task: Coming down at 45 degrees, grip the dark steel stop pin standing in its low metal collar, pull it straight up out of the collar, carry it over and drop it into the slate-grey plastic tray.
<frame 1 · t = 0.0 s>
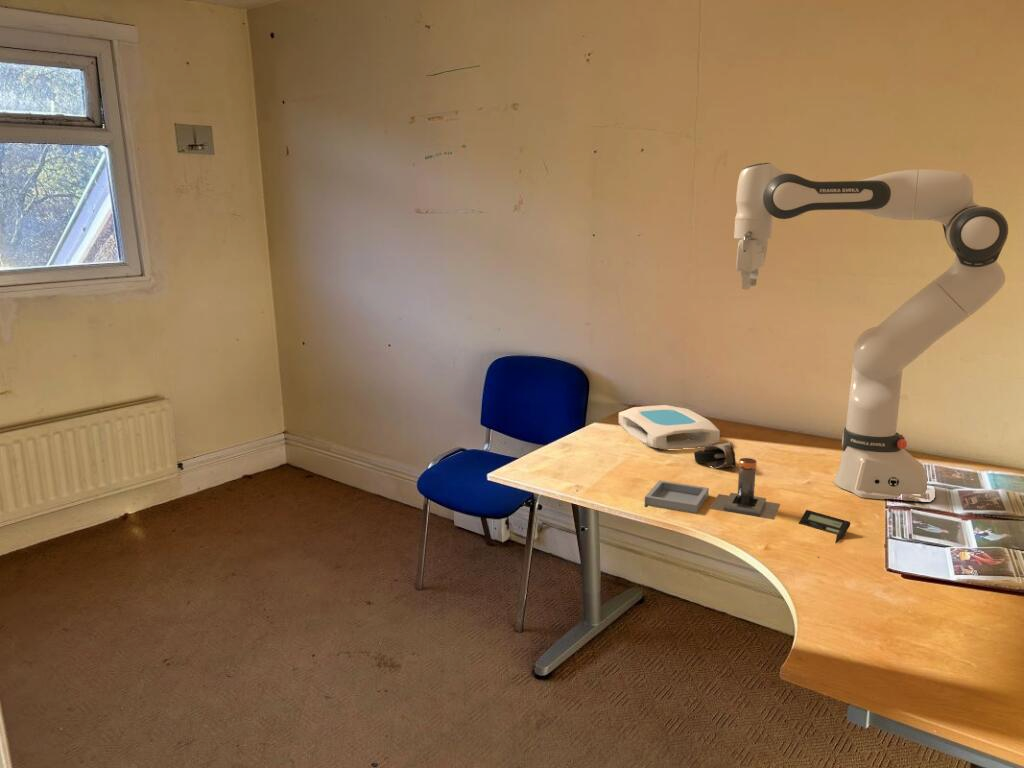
hand: (749, 287, 187), 48 cm above the table, tool pointing down, fingers open, 8 cm apart
stop pin: (744, 506, 170), point 1 cm above the table, touching collar plate
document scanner: (666, 436, 227), on the table
caster wheel: (713, 465, 200), on the table
collar plate: (744, 508, 170), on the table
tray: (676, 502, 174), on the table
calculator: (815, 537, 156), on the table
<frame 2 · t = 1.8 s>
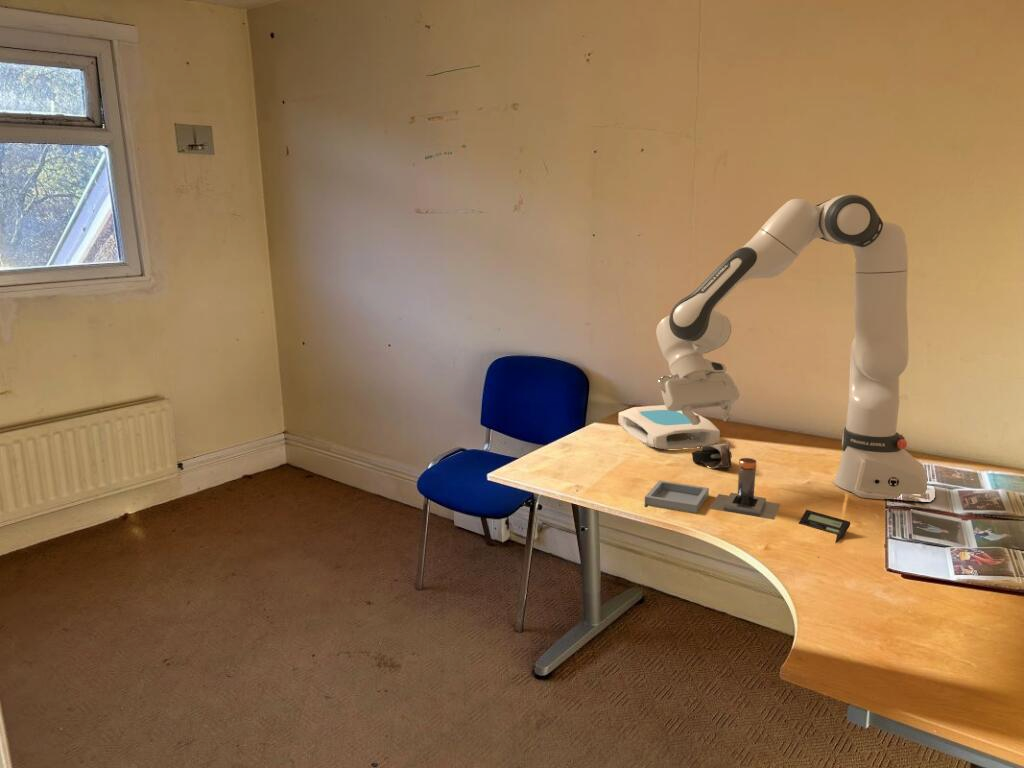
hand: (712, 421, 178), 17 cm above the table, tool tilted 45°, fingers open, 8 cm apart
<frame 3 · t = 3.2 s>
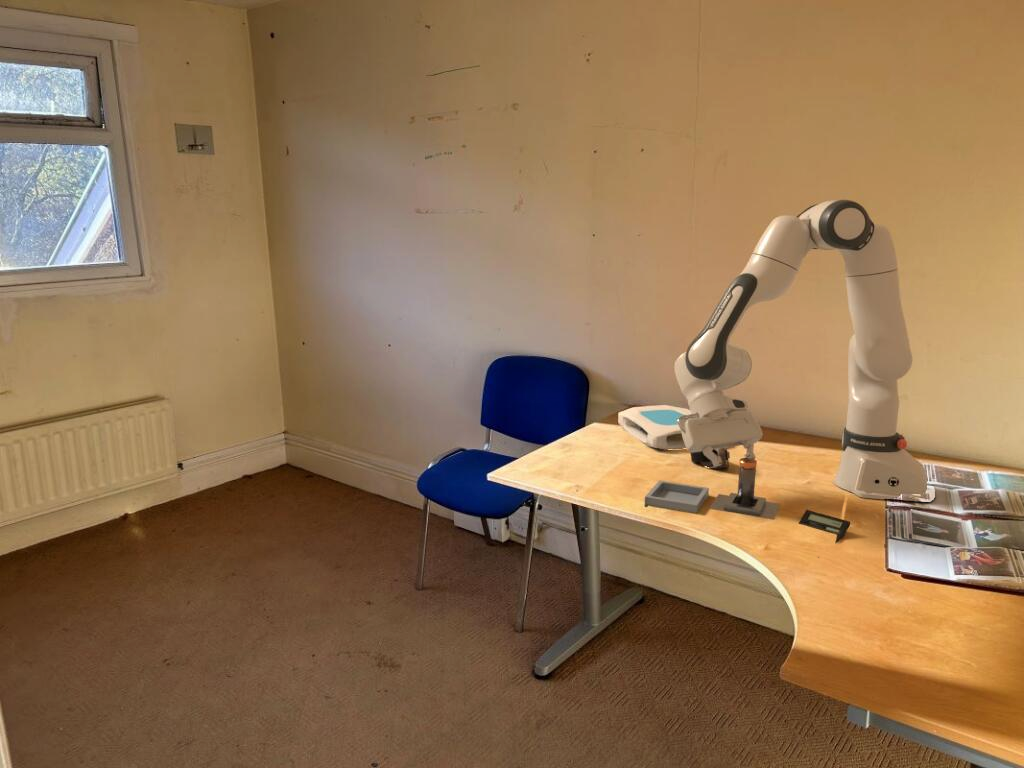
hand: (735, 462, 171), 10 cm above the table, tool tilted 45°, fingers open, 8 cm apart
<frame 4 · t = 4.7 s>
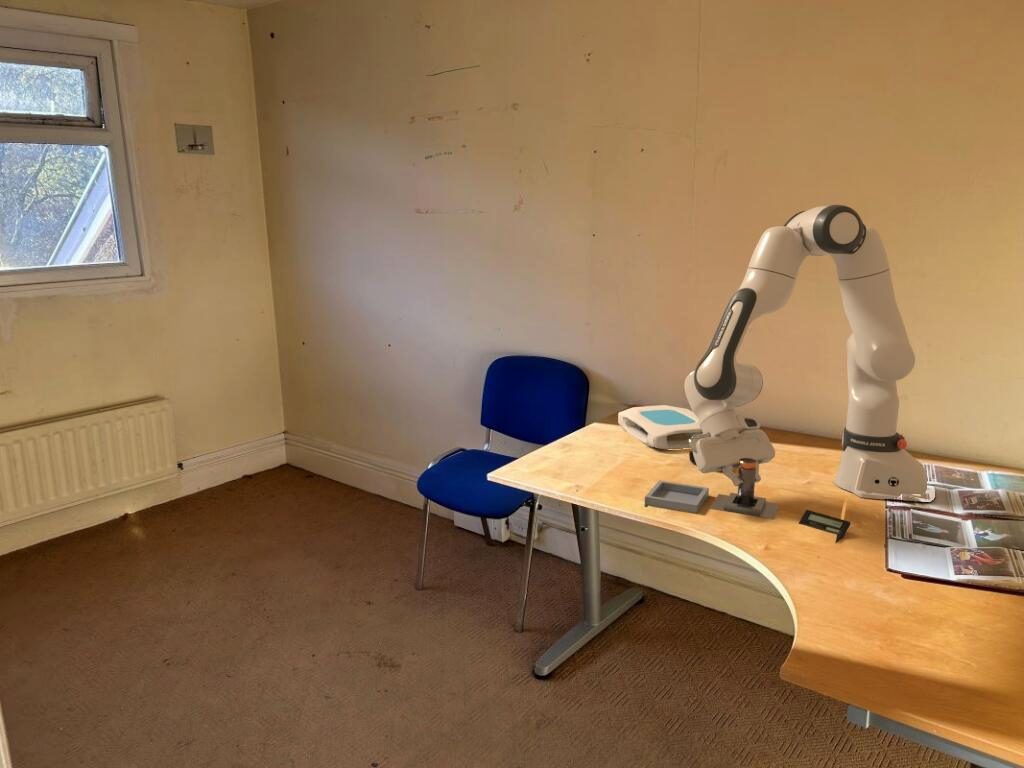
hand: (748, 483, 168), 6 cm above the table, tool tilted 45°, fingers closed on stop pin, 4 cm apart
stop pin: (744, 506, 170), point 1 cm above the table, touching collar plate, gripper
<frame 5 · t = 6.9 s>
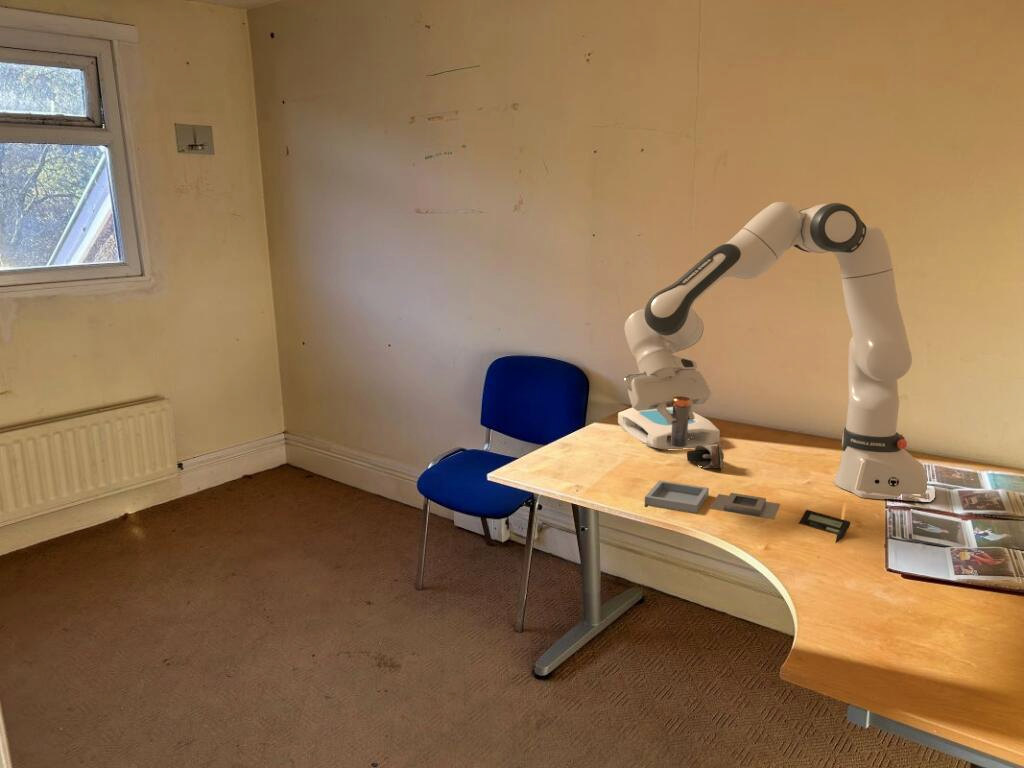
hand: (681, 421, 169), 20 cm above the table, tool tilted 45°, fingers closed on stop pin, 4 cm apart
stop pin: (678, 444, 171), point 14 cm above the table, touching gripper
when the fingers open (9 cm above the table, at t = 9.2 s): stop pin drops 2 cm, resting on tray.
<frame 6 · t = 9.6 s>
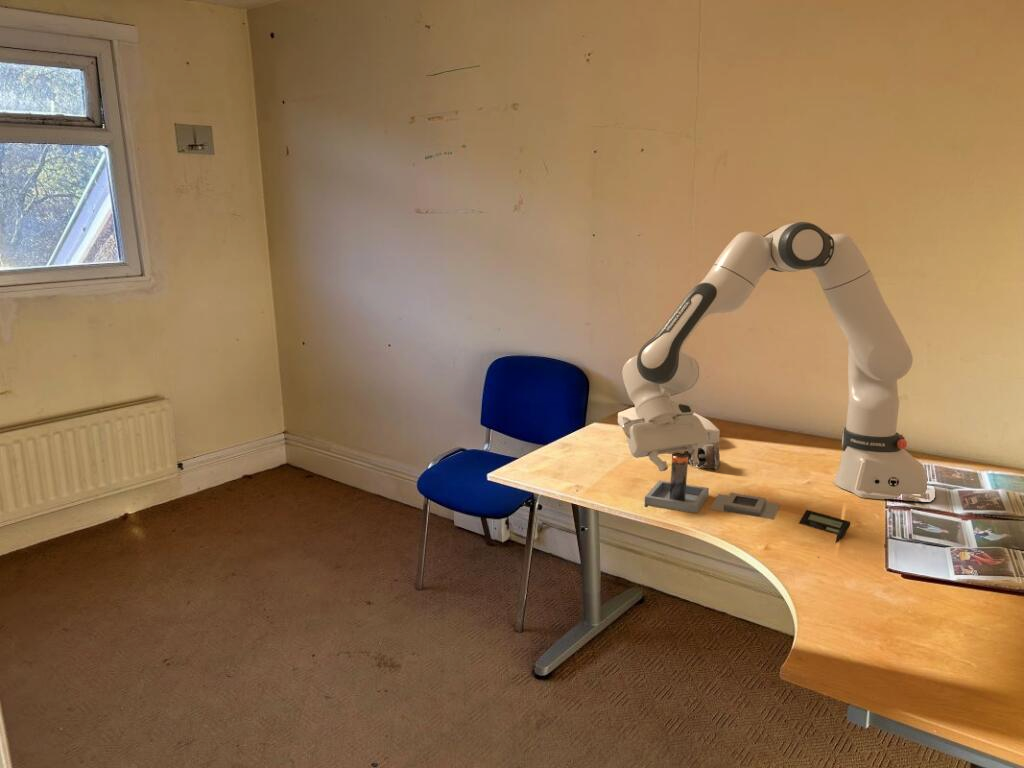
hand: (680, 467, 172), 9 cm above the table, tool tilted 45°, fingers open, 7 cm apart
stop pin: (677, 499, 174), point 1 cm above the table, touching tray
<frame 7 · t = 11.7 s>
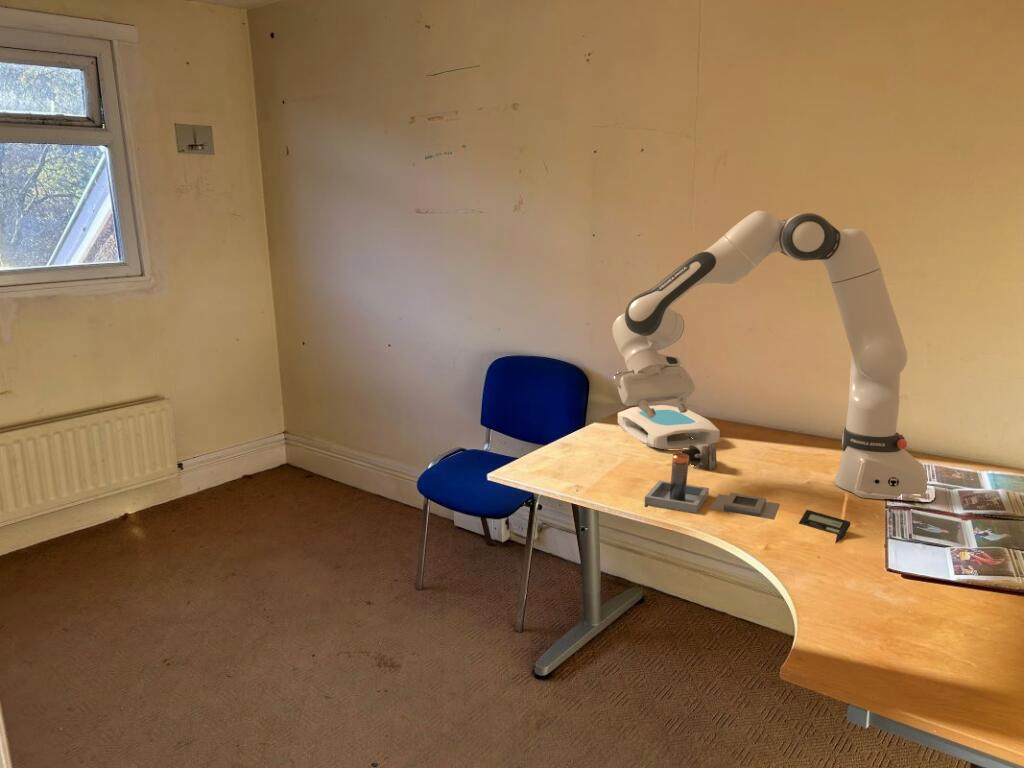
hand: (668, 414, 182), 18 cm above the table, tool tilted 45°, fingers open, 8 cm apart
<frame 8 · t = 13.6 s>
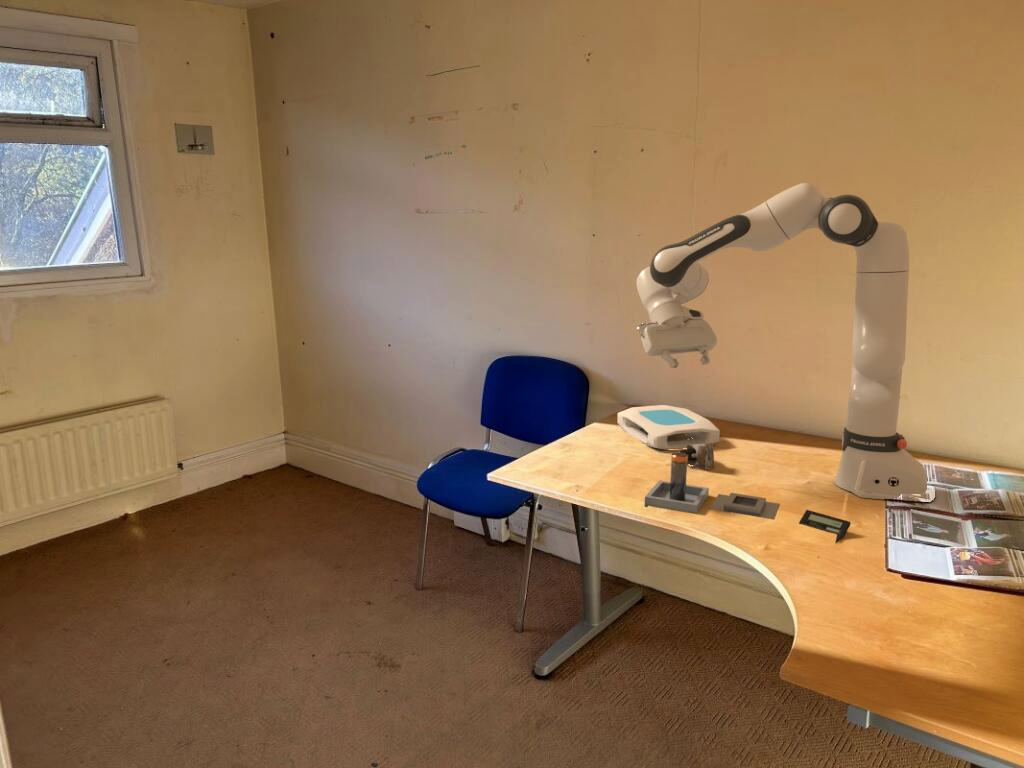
hand: (691, 365, 185), 29 cm above the table, tool tilted 45°, fingers open, 8 cm apart
at the end: stop pin inside the target area on the tray (0.1 cm from its centre), point 0.7 cm above the tray's base; the gripper is holding nothing; stop pin moved 15.2 cm from its start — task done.
